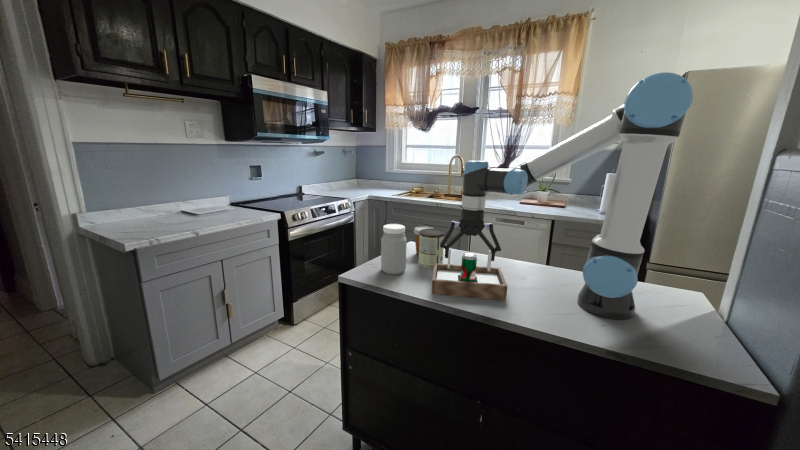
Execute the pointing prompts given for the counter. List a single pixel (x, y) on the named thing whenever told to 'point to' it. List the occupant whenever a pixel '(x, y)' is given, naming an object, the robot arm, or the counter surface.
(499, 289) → the open box
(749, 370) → the counter surface
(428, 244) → the coffee can
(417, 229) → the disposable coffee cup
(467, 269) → the soda can
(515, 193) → the robot arm
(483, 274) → the socket plate
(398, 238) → the jar
